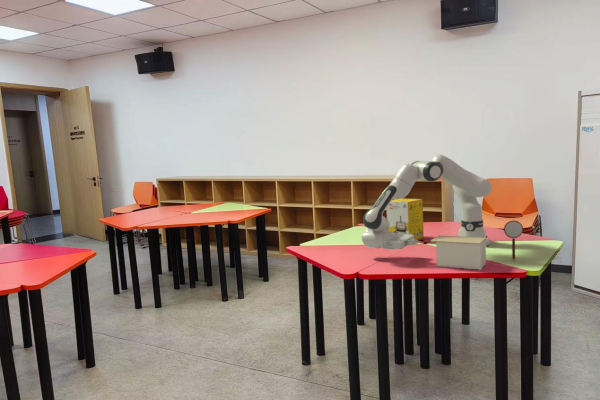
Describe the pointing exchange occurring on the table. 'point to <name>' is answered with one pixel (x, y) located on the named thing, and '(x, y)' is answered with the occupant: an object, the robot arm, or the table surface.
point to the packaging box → (406, 217)
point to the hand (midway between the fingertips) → (417, 242)
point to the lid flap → (458, 239)
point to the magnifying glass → (513, 233)
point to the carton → (461, 255)
